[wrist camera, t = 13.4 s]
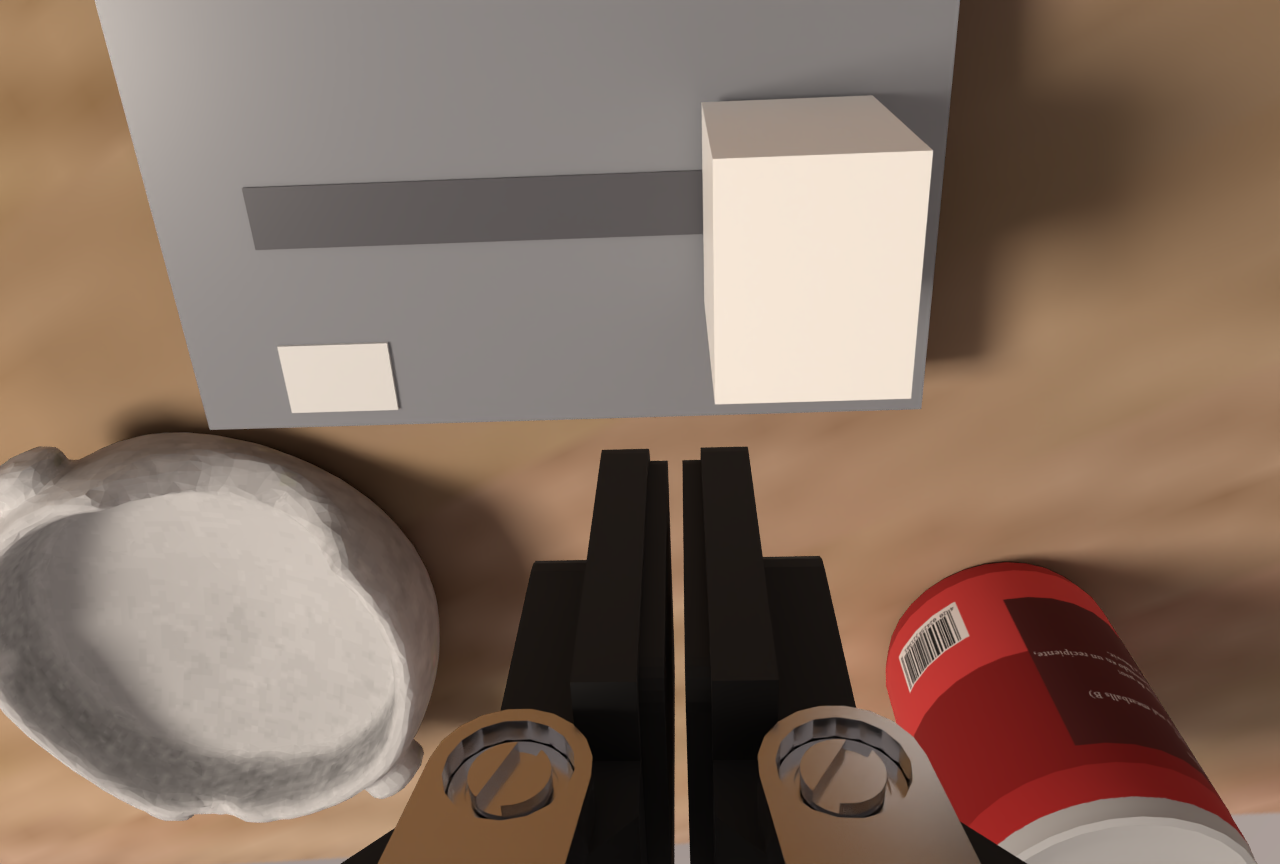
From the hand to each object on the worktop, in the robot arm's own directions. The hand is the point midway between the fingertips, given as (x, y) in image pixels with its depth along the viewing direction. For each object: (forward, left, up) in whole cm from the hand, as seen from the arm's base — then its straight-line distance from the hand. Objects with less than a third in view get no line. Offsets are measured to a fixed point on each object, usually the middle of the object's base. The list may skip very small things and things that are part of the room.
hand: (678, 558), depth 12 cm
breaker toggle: (-3, 0, -15) cm, 15 cm away
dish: (+15, +14, -19) cm, 28 cm away
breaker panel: (+3, 0, -19) cm, 19 cm away
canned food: (-11, +17, -19) cm, 27 cm away
